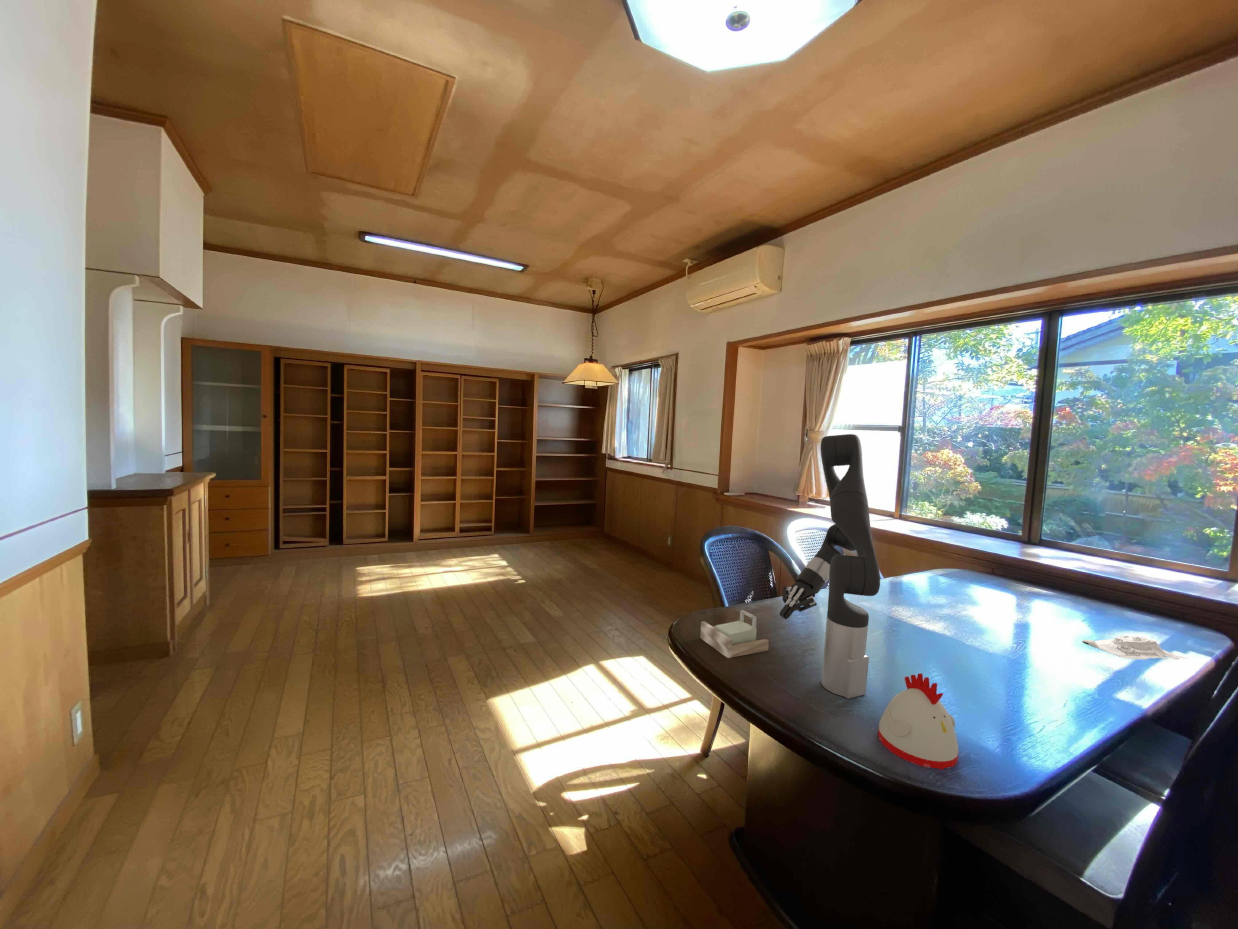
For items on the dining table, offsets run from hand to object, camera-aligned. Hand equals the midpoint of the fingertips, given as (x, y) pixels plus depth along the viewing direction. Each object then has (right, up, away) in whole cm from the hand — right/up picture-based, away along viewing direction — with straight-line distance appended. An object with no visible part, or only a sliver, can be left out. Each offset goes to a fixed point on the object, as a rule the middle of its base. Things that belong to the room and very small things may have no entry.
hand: (782, 617), depth 150 cm
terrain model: (+111, -12, +4) cm, 112 cm away
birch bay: (-16, -6, -7) cm, 19 cm away
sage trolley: (-17, -6, -9) cm, 20 cm away
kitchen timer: (+10, -11, -51) cm, 53 cm away
